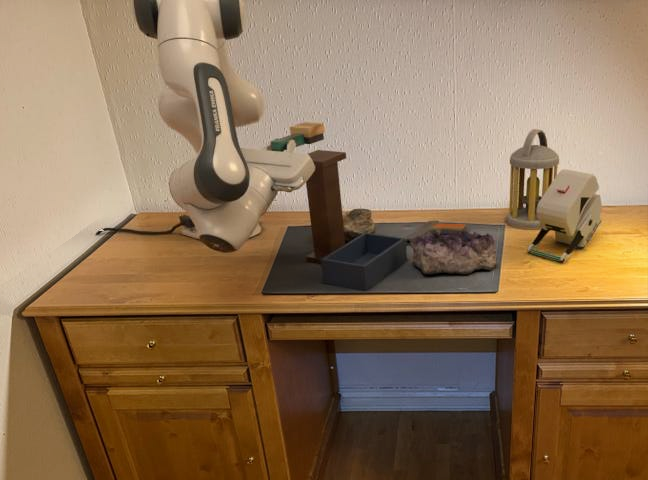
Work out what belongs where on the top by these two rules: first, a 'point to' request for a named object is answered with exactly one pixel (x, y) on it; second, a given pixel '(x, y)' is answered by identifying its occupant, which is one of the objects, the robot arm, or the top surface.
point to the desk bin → (364, 261)
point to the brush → (300, 135)
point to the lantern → (530, 180)
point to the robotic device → (569, 212)
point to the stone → (357, 223)
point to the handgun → (436, 230)
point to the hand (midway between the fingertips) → (285, 141)
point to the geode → (454, 253)
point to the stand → (325, 204)
